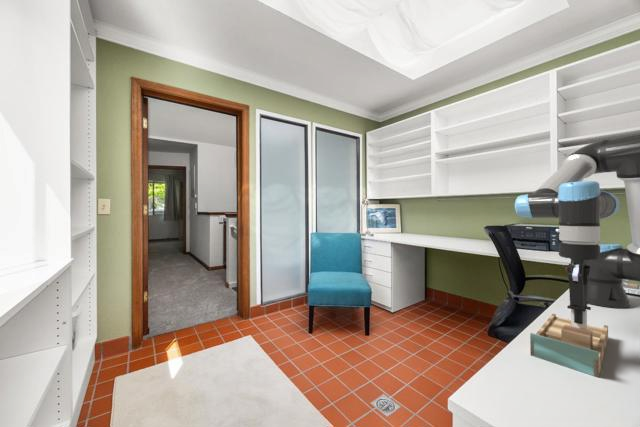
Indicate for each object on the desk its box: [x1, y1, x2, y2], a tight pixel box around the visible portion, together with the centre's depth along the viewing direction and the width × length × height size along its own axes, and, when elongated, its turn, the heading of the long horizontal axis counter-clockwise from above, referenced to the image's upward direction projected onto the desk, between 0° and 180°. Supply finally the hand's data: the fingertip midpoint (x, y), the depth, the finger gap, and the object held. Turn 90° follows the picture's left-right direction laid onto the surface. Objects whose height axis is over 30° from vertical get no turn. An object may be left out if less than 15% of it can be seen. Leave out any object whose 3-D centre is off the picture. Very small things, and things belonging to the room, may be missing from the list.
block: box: [561, 325, 593, 350], centre depth 65 cm, size 5×5×4 cm
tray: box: [529, 313, 609, 378], centre depth 71 cm, size 27×12×6 cm, turn 129°
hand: (579, 334), depth 67 cm, fingers closed
